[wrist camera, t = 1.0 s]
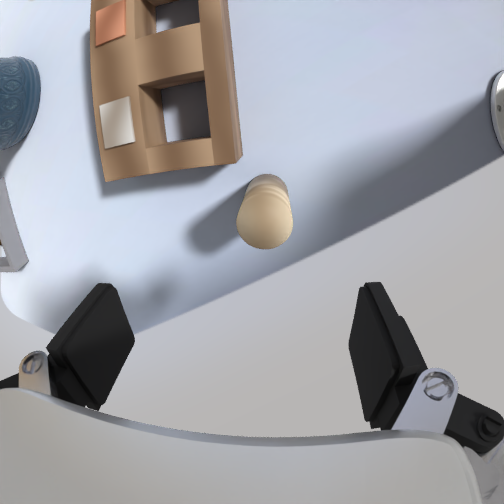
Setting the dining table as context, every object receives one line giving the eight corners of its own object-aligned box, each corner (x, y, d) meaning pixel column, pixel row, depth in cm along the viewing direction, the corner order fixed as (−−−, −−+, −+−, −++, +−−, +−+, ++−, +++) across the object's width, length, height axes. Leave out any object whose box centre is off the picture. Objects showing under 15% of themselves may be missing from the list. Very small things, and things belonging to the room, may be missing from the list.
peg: (286, 172, 26) (291, 194, 19) (288, 212, 28) (293, 248, 21) (244, 175, 26) (233, 198, 19) (248, 214, 28) (239, 250, 21)
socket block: (225, -25, 16) (214, -49, 12) (242, 155, 25) (235, 163, 21) (116, 5, 18) (90, -8, 13) (129, 170, 27) (103, 182, 22)
